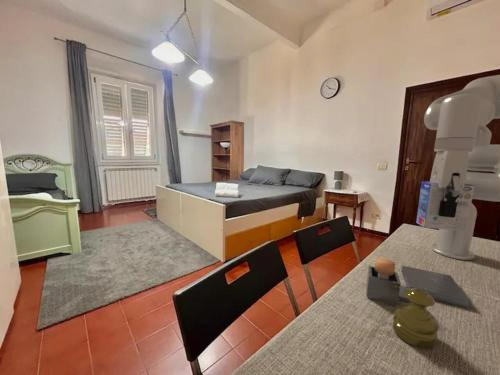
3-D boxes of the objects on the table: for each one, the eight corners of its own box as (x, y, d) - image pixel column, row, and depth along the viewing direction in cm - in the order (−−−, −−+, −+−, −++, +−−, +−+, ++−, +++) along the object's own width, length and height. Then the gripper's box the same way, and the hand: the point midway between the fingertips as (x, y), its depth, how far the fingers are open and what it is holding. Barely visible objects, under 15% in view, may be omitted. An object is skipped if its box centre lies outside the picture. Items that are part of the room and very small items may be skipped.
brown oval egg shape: (372, 275, 61) (375, 256, 60) (391, 279, 59) (394, 260, 59) (373, 283, 57) (376, 263, 57) (393, 288, 56) (396, 267, 55)
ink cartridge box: (453, 225, 62) (463, 174, 60) (468, 232, 57) (479, 176, 55) (414, 222, 64) (421, 172, 62) (424, 228, 59) (433, 174, 57)
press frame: (365, 263, 76) (367, 246, 75) (449, 281, 66) (452, 262, 65) (366, 297, 58) (369, 276, 57) (483, 329, 48) (488, 304, 47)
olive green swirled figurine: (442, 339, 45) (450, 295, 44) (426, 356, 41) (435, 308, 40) (402, 316, 51) (408, 277, 50) (385, 329, 47) (391, 287, 46)
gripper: (426, 147, 67) (417, 205, 69) (446, 144, 51) (433, 219, 54) (459, 147, 63) (448, 208, 66) (490, 144, 48) (474, 224, 51)
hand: (442, 212), depth 60 cm, fingers closed on ink cartridge box, 6 cm apart
